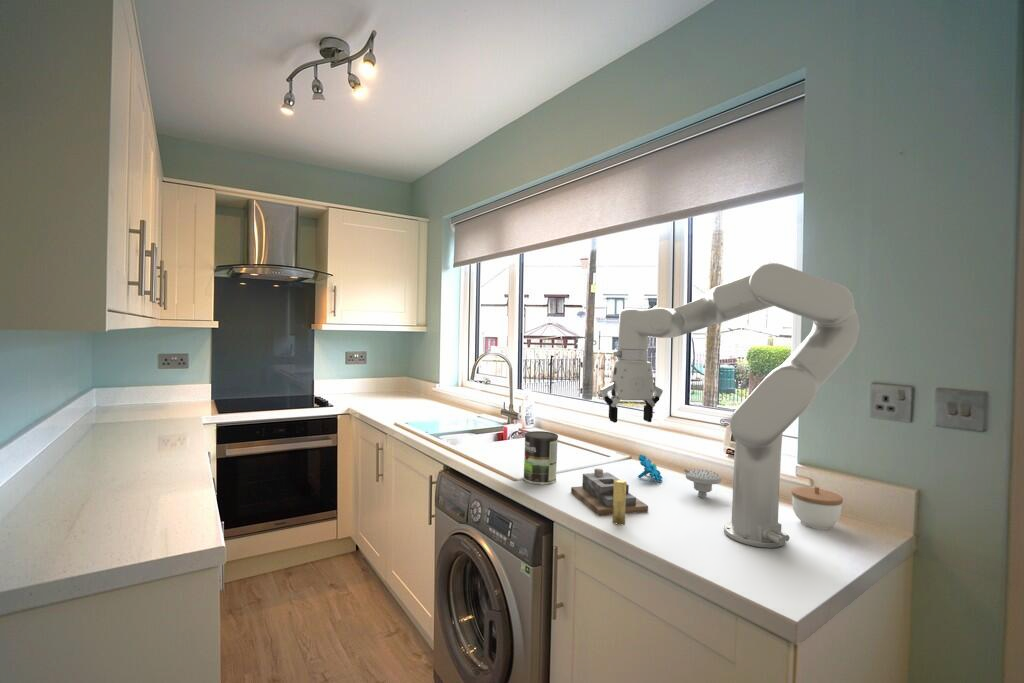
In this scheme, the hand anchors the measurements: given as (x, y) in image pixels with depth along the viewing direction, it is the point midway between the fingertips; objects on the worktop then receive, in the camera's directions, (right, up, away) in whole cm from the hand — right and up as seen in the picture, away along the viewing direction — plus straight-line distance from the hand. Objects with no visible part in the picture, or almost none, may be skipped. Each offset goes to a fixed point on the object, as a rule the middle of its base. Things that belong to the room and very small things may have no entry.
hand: (630, 421), depth 128 cm
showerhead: (+23, -24, +12) cm, 35 cm away
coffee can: (-22, -22, +23) cm, 39 cm away
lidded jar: (+44, -25, -7) cm, 51 cm away
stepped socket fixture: (-5, -23, +5) cm, 24 cm away
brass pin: (-5, -23, -9) cm, 25 cm away
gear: (+13, -23, +27) cm, 38 cm away
